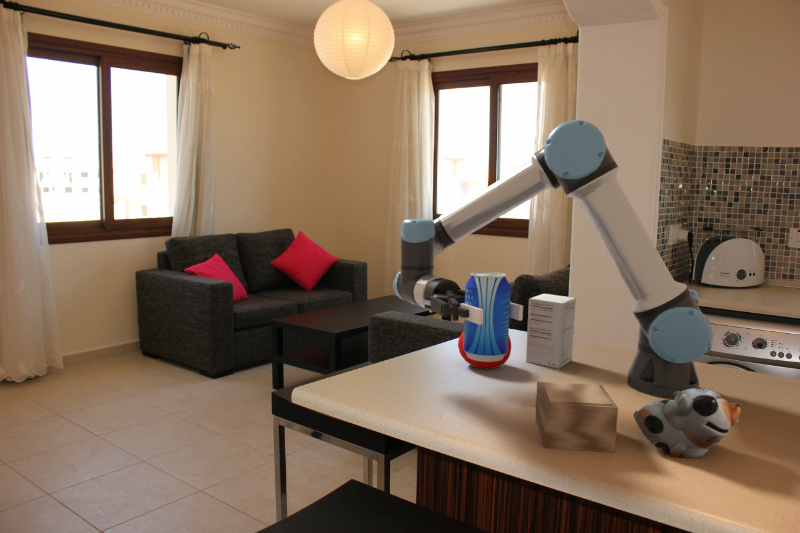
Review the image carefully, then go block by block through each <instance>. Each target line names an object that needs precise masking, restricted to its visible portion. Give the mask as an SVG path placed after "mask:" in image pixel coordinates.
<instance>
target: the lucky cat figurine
mask: <svg viewBox="0 0 800 533" xmlns="http://www.w3.org/2000/svg"><path fill="white" fill-rule="evenodd" d="M671 398H672V399H662V400H656V401H653V402H652V403H647V404H646V405H644V406H641V408H639V409H638V410H636V411H635V412H634V413H633V415H632V416H633V418H634V421H635V423H636V424H637V426H638V428H639V429H640V430H641V433H642V434H643V436H644V437H645V438H646V440H648V441H649V442H650V444H652V445H653V446H654V447H655V448H657V449H658V448H659V449H663V451H664V452H665V453H666V454H665V455H667V456H670V457H674V458H691V459H695V458H697V459H699V458H702V457H703V456H704V455H705V454H706V453H708V452H709V451H710V450H709V449H710V448H711V447H712V446H713V445H714V444H716V443H717V444H718V443H719V442H720V441H722V439H724V438H725V437H726V436H728V434H729V432H730V428H731V427H733V426H735V425H736V424H737V423H739V417H740V415H741V407H742V404H741V403H738V402H734V403H733V402H731V403H729V401H728V400H726V399H725V398H724V397H723V396H722V395H720V394H719V393H717V392H716V391H714V390H710V389H706V388H702V389H701V388H699V389H695V388H692V389H687V390H683V391H681V392H680V391H676V392H674V393H673V397H671Z"/></svg>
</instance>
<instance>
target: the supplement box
mask: <svg viewBox="0 0 800 533" xmlns="http://www.w3.org/2000/svg"><path fill="white" fill-rule="evenodd" d="M576 301H577V300H576V297H572V296H564V295H557V294H550V293H542V294H539V295H536V296H533V297H531V298H529V299H528V314H527V316H528V318H527V330H526V332H527V333H526V334H527V335H526V354H525V355H526V356H525V362H526V363H531V364H536V365H540V366H545V367H550V368H554V369H560V368H562V367H564V366H566V364H569V363H570V362H572V361H573V351H574V333H575V319H576Z"/></svg>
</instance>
